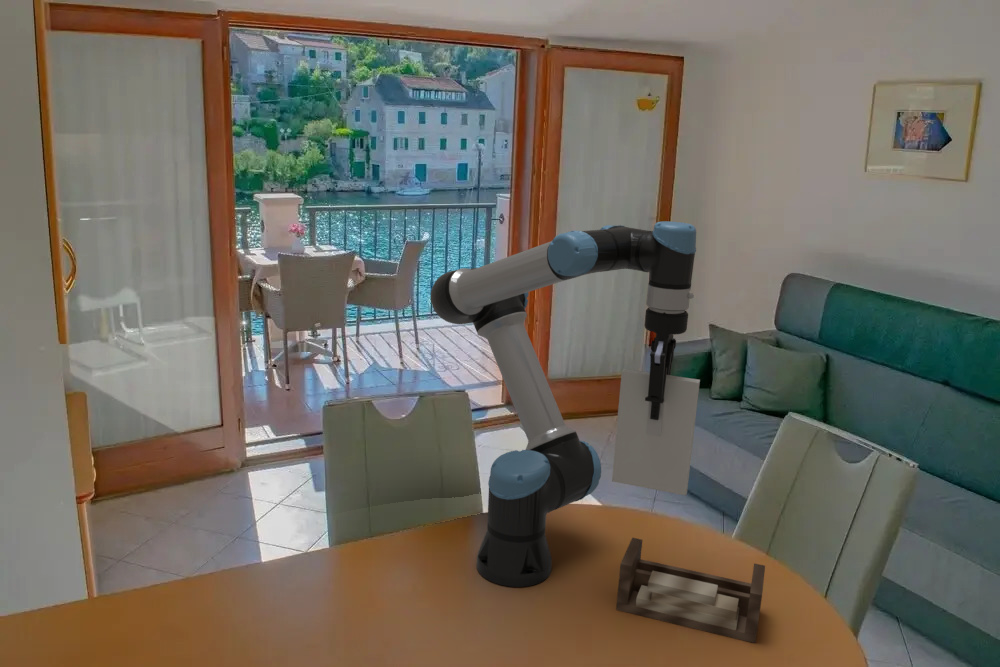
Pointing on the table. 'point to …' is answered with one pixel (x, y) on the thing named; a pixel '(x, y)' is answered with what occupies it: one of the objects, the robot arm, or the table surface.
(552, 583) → the table surface
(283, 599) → the table surface
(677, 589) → the offcuts
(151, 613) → the table surface
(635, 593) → the rack
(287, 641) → the table surface
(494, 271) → the robot arm
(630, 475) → the sheet
